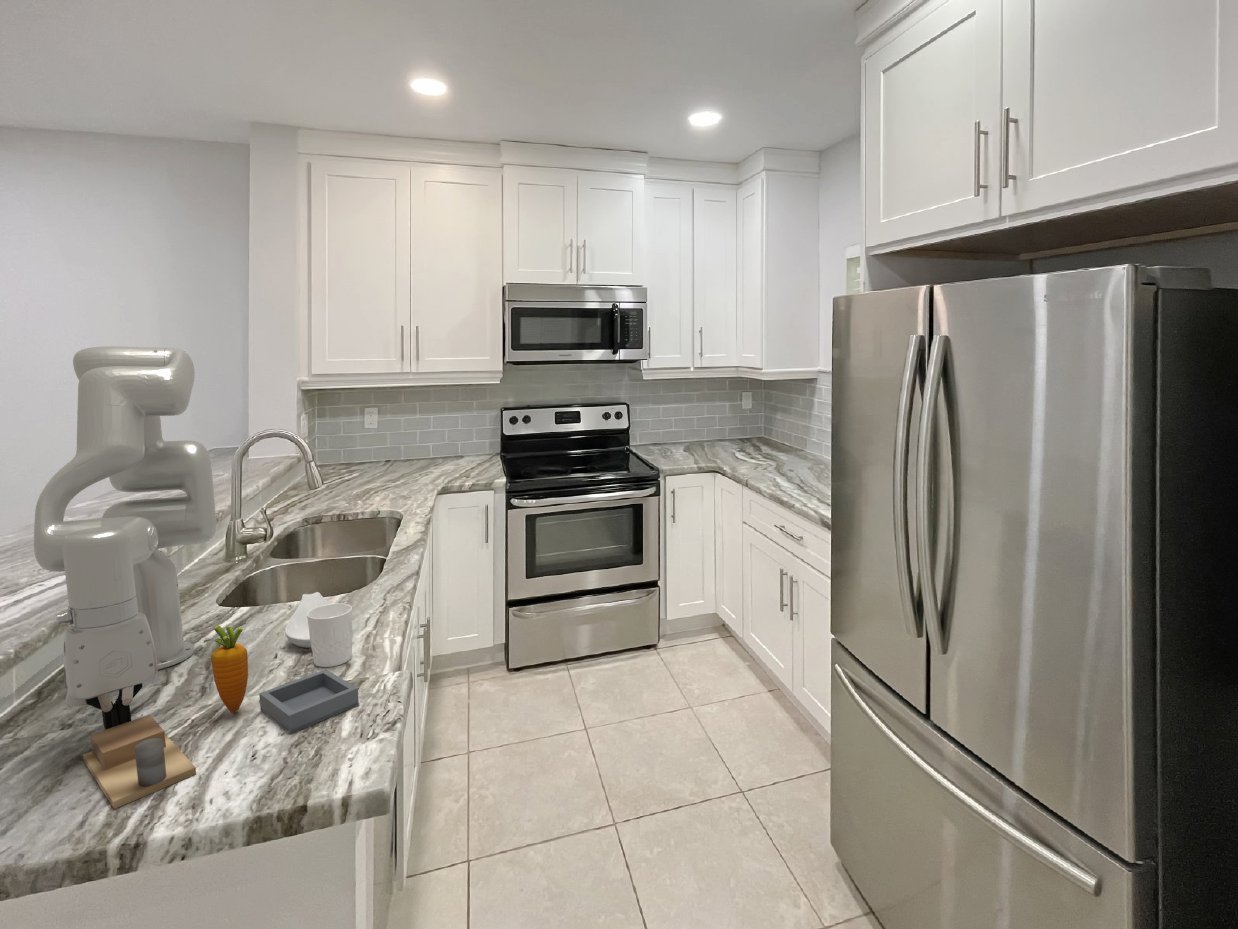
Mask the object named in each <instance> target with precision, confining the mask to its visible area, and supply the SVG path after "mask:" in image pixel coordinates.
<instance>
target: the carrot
mask: <svg viewBox="0 0 1238 929" xmlns="http://www.w3.org/2000/svg"><path fill="white" fill-rule="evenodd" d="M225 629H226V631H225V630H224V629H223V627H222V626H221V625H216V626H215V627H214V631H215V633H216V634H217V635H218V636H219V637H220V638H215V639H213V641H214V642H215V643H217V644H219V645H220V646H219V647H218V648H217V649H215V650H214V651H213V652H212V653H211V654H210V655H211V657H210V659H211V666H212V667H211V668H212V669H211V670H212V674H213V680H214V684H215V687H216V690H217V693H218V695H219V698H220V700H221V701H222V703H223V705H224V706H225V707H226V708H227V710H228V711H229V712H230V713H231V714H236V713H237V712H238V711H239V710H240V708H241V705H242V703H243V701H244V699H245V696H246V692H247V687H248V686H247V685H248V679H249V677H248V676H249V662H248V661H249V660H248V650H247V648H246V647H245V646H244V645H242V644H241V643H237V641H238V638H239V636H240V635H241V633H242V632H243V630H244V629H243V627H237V629H236V630H235V632H234V629H233V627H232V626H230V625H229V626H226V627H225ZM226 632H227V633H228V634H227V633H226Z"/></svg>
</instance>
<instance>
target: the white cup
mask: <svg viewBox="0 0 1238 929" xmlns="http://www.w3.org/2000/svg"><path fill="white" fill-rule="evenodd" d="M307 620H308V628H309V636H310V642H311V648H310V649H311V652H312V660H313V664H314V665H315V666H316V667H319V668H333V667H337V666H340V665H343V664H345V663H347V662H348V661H350V660H351V659H352V655H353V653H352V651H353V648H352V647H353V646H352V644H353V607H352V605H351V604H348V603H342V602H341V603H330V604H327V605H322V606H319V607H316V608H313V609H311V610H310V611H309V612H308V613H307Z"/></svg>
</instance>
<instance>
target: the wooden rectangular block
mask: <svg viewBox="0 0 1238 929" xmlns="http://www.w3.org/2000/svg"><path fill="white" fill-rule="evenodd" d="M165 734H166V733H165V730H164V729H163V728H162V727H161V726H160V724H159V723H158V722H157V721H156V720H155V719H154V718H153V717H152V715H150V714H148V715H144V716H142V717H139V718H136V719H133V720H131V721H130V722H127V723H124V724H121V725H118V726H115V727H112V728H109V729H106V730H105V729H103V730H101V731H98V732H96V733H92V734H90V735H89V738H90V744H91V746H90V747H91V752H93V753H94V755H95V756H96V758H97V759H98V761H99V762H100V764H101V765H102V767H103V769H104V770H107V769H109V768H112V767H115V766H117V765H120V764H122V763H125V762H128V761H130V760H133V759H136V758H135V749H134V748H135V746H136V745H137V744H139V743H141V742H143V741H145V740H148V739H152V738H161V739H162V740H163V747H166V742H165Z"/></svg>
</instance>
